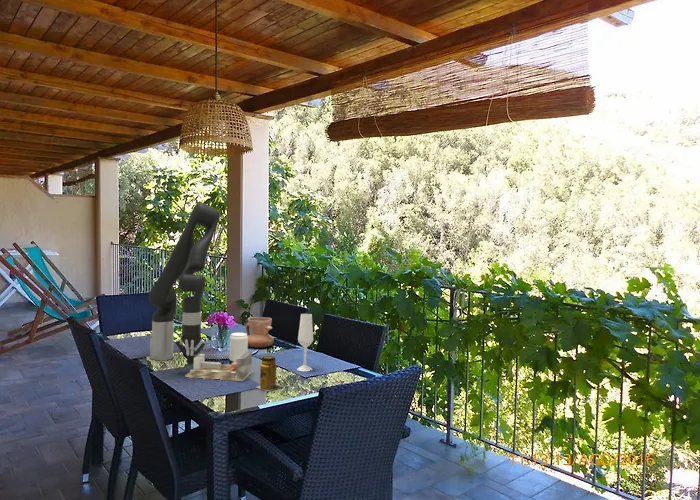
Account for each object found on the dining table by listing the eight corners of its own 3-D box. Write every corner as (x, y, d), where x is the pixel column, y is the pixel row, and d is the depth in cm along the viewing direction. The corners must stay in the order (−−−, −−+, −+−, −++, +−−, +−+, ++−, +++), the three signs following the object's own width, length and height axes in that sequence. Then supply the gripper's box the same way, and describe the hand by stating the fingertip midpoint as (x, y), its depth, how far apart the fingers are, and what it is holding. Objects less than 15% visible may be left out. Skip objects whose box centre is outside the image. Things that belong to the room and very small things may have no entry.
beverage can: (243, 363, 244) (243, 336, 243) (226, 361, 246) (226, 335, 245) (250, 358, 252) (250, 333, 251) (233, 357, 254) (234, 331, 253)
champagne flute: (305, 366, 243) (307, 312, 241) (315, 369, 238) (317, 315, 237) (293, 368, 238) (295, 314, 237) (303, 372, 233) (305, 316, 232)
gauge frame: (184, 377, 220) (185, 355, 220) (195, 369, 232) (196, 348, 232) (243, 381, 218) (243, 359, 218) (251, 372, 230) (251, 351, 230)
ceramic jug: (281, 346, 276) (281, 319, 276) (259, 351, 265) (260, 322, 265) (257, 341, 288) (258, 314, 287) (235, 345, 277) (236, 317, 276)
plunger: (193, 372, 222) (193, 358, 222) (199, 367, 229) (200, 353, 229) (217, 374, 222) (217, 359, 221) (222, 369, 229) (223, 355, 228)
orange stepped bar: (228, 373, 219) (228, 366, 219) (233, 368, 227) (233, 361, 226) (232, 374, 219) (233, 366, 219) (238, 368, 226) (238, 361, 226)
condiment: (255, 387, 211) (255, 356, 211) (271, 382, 218) (272, 353, 217) (267, 391, 207) (268, 360, 206) (284, 387, 213) (285, 356, 212)
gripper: (172, 323, 222) (171, 365, 223) (204, 325, 221) (203, 367, 222) (179, 320, 229) (178, 360, 230) (210, 321, 228) (209, 362, 229)
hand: (190, 364), depth 226 cm, fingers closed
